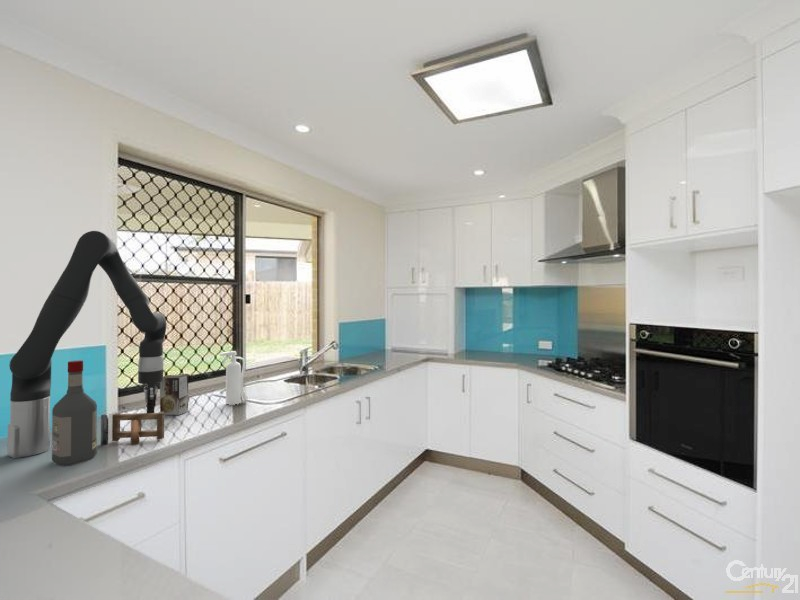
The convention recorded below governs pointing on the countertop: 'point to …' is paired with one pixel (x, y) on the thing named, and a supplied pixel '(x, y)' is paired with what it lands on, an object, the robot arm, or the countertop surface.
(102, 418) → the hinge post
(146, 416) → the gate
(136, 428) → the post
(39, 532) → the countertop surface
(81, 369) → the liquor
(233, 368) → the fire extinguisher
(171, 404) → the coffee box
